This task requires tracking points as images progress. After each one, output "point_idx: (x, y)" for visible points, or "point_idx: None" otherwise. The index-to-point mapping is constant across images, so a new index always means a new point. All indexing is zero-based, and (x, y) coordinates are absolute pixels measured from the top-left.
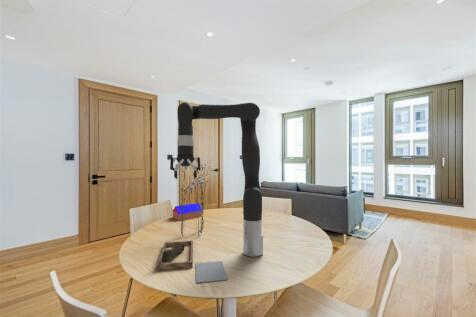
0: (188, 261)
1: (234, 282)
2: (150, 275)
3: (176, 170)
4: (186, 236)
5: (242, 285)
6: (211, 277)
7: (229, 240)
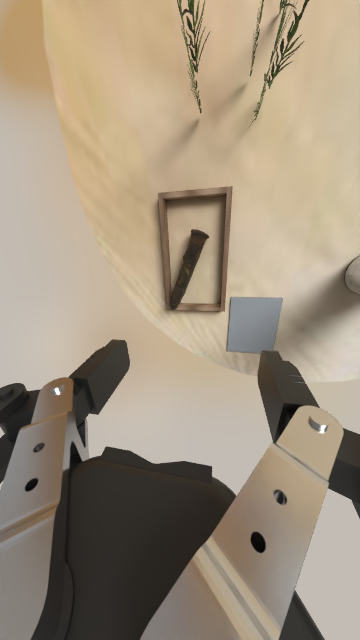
0: (217, 308)
1: None
2: (163, 317)
3: (85, 414)
4: (214, 91)
5: None
6: (250, 345)
7: (355, 156)
